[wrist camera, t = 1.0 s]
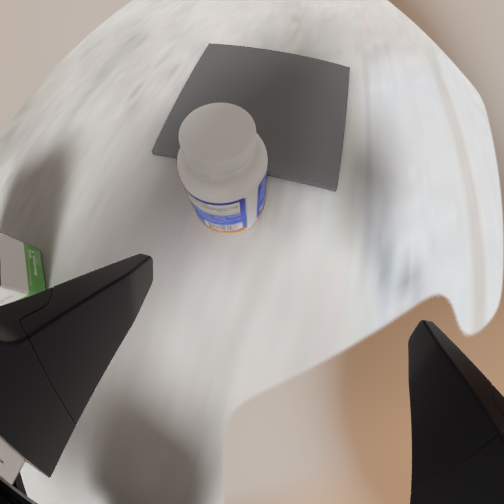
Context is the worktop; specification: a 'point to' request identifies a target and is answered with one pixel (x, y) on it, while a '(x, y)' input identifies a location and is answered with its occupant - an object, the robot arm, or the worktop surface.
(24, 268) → the ink box
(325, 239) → the worktop surface
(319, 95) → the rubber mat
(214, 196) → the pill bottle
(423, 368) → the robot arm
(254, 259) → the worktop surface
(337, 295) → the worktop surface
